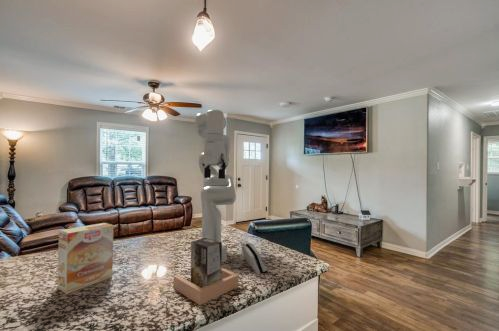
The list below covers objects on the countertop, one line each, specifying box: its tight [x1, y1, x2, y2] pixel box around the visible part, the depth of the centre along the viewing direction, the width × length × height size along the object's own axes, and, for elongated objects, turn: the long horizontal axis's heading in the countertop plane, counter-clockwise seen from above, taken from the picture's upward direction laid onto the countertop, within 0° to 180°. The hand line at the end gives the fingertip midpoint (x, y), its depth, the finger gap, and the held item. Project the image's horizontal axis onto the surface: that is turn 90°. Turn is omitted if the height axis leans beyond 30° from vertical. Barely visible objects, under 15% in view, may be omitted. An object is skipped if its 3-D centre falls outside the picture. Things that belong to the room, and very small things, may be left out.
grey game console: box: [240, 242, 270, 275], centre depth 103 cm, size 17×5×10 cm, turn 18°
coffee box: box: [190, 237, 223, 288], centre depth 82 cm, size 9×6×16 cm
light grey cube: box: [222, 245, 228, 263], centre depth 108 cm, size 6×6×6 cm
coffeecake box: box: [57, 222, 114, 295], centre depth 86 cm, size 15×7×20 cm, turn 148°
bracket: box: [172, 267, 240, 306], centre depth 84 cm, size 15×16×4 cm
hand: (214, 178), depth 107 cm, fingers open, 9 cm apart
